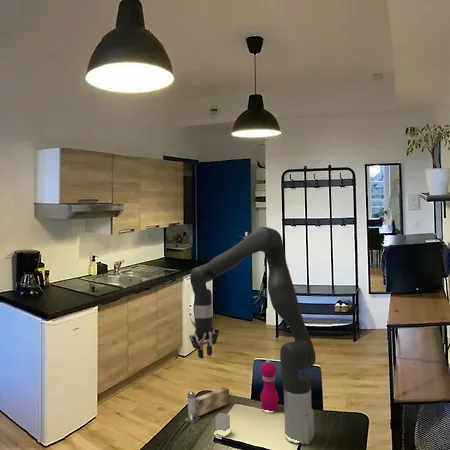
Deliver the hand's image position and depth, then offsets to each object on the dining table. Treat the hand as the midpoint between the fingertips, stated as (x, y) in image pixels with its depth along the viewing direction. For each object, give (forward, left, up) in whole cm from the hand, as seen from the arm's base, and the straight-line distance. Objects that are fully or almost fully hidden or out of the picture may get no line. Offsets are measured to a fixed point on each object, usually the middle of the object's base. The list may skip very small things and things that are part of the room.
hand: (205, 356), depth 177 cm
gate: (-6, +5, -18) cm, 20 cm away
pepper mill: (-25, -6, -19) cm, 32 cm away
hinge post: (-2, +14, -19) cm, 24 cm away
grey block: (-18, +17, -19) cm, 31 cm away
